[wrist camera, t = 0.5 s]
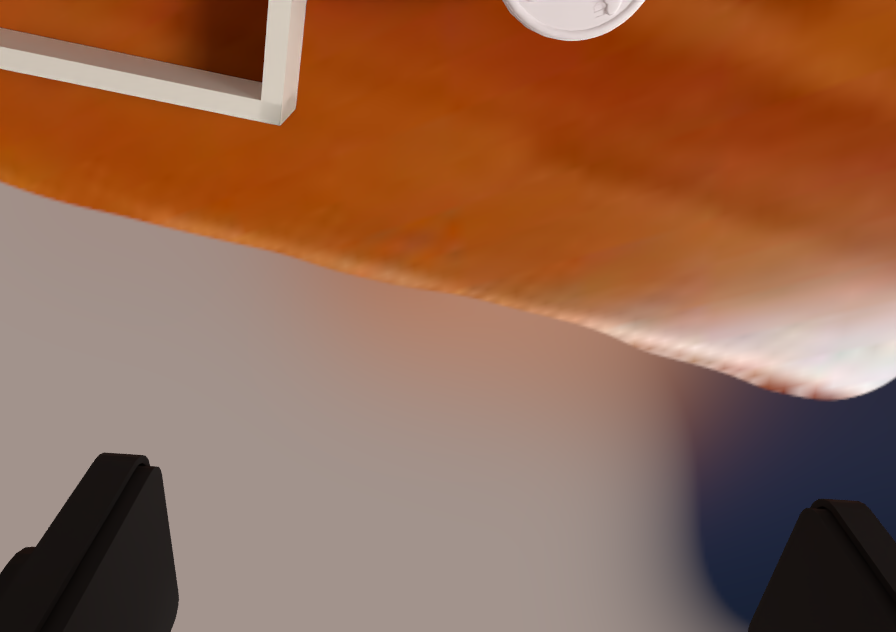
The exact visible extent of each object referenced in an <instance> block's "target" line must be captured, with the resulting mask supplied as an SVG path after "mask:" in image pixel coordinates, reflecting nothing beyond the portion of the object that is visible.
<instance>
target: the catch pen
mask: <svg viewBox="0 0 896 632" xmlns="http://www.w3.org/2000/svg"><path fill="white" fill-rule="evenodd" d="M306 1H307V0H269V3H268V16H267V29H266V42H265V55H264V68H263V81H262V83H261V82H257V81H252V80H247V79H242V78H238V77H233V76H228V75H223V74H219V73H214V72H209V71H204V70H200V69H195V68H190V67H185V66H181V65H176V64H171V63H166V62H162V61H157V60H152V59H147V58H143V57H138V56H133V55H128V54H124V53H119V52H114V51H109V50H105V49H100V48H95V47H90V46H85V45H81V44H76V43H71V42H66V41H62V40H57V39H52V38H47V37H43V36H38V35H33V34H28V33H24V32H19V31H14V30H9V29H5V28H0V69H5V70H10V71H15V72H20V73H24V74H29V75H34V76H39V77H44V78H49V79H54V80H59V81H64V82H69V83H73V84H78V85H83V86H88V87H93V88H98V89H103V90H108V91H113V92H118V93H122V94H127V95H132V96H137V97H142V98H147V99H152V100H157V101H162V102H167V103H172V104H176V105H181V106H186V107H191V108H196V109H201V110H206V111H211V112H216V113H221V114H225V115H230V116H235V117H240V118H245V119H250V120H255V121H260V122H265V123H270V124H274V125H279V126H280V125H281V124H282V123H283V122H284V121H285V120H286V119H287V118H288V117H289V116H290V115H291V113H292V112H293V111H294V110H295V109H296V100H297V90H298V80H299V71H300V61H301V51H302V41H303V31H304V21H305V11H306Z"/></svg>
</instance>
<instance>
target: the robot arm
mask: <svg viewBox="0 0 896 632" xmlns="http://www.w3.org/2000/svg"><path fill="white" fill-rule="evenodd" d="M178 601H179V595H178V587H177V580H176V572H175V565H174V558H173V551H172V544H171V536H170V529H169V522H168V515H167V508H166V500H165V494H164V487H163V479H162V473H161V470H160V468H159V467H154V466H150V464H149V460H148V458H147V457H146V456H143V455H131V454H116V453H102V454H100V455H99V456H98V457H97V458H96V459H95V461H94V462H93V463H92V465H91V466H90V468H89V469H88V471H87V472H86V474H85V475H84V477H83V478H82V480H81V481H80V483H79V484H78V485H77V487H76V489H75V490H74V491H73V493H72V494H71V496H70V497H69V499H68V500H67V502H66V503H65V505H64V506H63V508H62V509H61V511H60V512H59V513H58V515H57V516H56V518H55V519H54V521H53V522H52V524H51V525H50V527H49V528H48V530H47V531H46V533H45V534H44V536H43V537H42V539H41V540H40V541H39V543H38V544H37V546H36V547H26V548H24V549H22V550H21V551H19V552H18V553H16V554H15V556H14V557H13V558H12V559H11V560H10V561H9V562H8V564H7V565H6V566H5V568H4V569H3V571H2V572H1V574H0V632H171V629H172V627H173V624H174V621H175V618H176V614H177V609H178ZM748 632H896V543H895V541H894V540H893V538H892V537H891V536H890V535H889V533H888V532H887V531H886V529H885V528H884V527H883V526H882V524H881V523H880V522H879V520H878V519H877V518H876V516H875V515H874V514H873V513H872V511H871V510H870V509H869V508H868V507H867V506H866V505H865V504H863V503H861V502H859V501H848V500H833V499H818V500H816V501H815V502H814V503H813V504H812V506H811V507H810V508H806V509H804V510H803V511H802V512H801V514H800V516H799V518H798V520H797V522H796V524H795V527H794V529H793V531H792V533H791V535H790V538H789V540H788V542H787V544H786V546H785V548H784V551H783V553H782V555H781V557H780V559H779V562H778V564H777V566H776V568H775V570H774V572H773V575H772V577H771V579H770V581H769V583H768V586H767V588H766V590H765V592H764V594H763V596H762V599H761V601H760V603H759V605H758V607H757V610H756V612H755V614H754V616H753V618H752V620H751V623H750V625H749V629H748Z"/></svg>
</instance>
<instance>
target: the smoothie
mask: <svg viewBox="0 0 896 632" xmlns="http://www.w3.org/2000/svg"><path fill="white" fill-rule="evenodd" d="M644 1H645V0H503V2H504V4H505V5H506V7H507V8H508V10H509V12H510V13H511V14H512V15H513V16H514V17H515V18H516V19H518V20H519V21H520V22H521V23H522V24H523V25H524V26H525V27H526V28H528V29H530V30H532V31H534V32H536V33H538V34H540V35H542V36H545V37H549V38H554V39H559V40H567V41H578V40H586V39H590V38H594V37H597V36H600V35H603V34H605V33H607V32H609V31H611V30H613V29H614V28H616V27H618V26H619V25H621V24H622V23H623V22H625V21H626V20H627V19H628V18H629V17H631V16H632V15H633V14H634V13H635V12H636V11H637V10H638V8H639V7H640V6H641V5H642V4H643V2H644Z"/></svg>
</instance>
